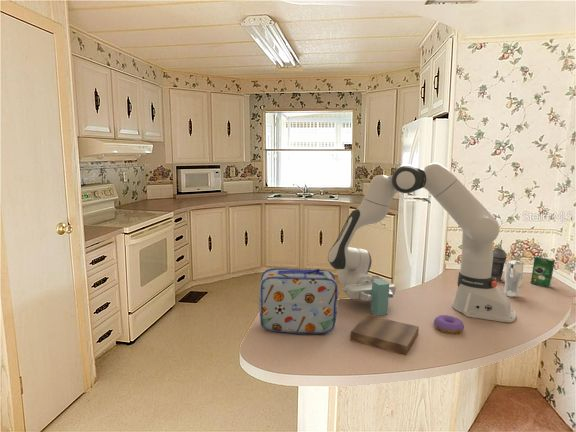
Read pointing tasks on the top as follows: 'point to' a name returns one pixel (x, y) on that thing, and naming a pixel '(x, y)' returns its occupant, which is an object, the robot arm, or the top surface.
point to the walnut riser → (385, 334)
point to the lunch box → (298, 300)
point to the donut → (449, 324)
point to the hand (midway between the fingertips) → (381, 297)
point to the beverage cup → (498, 263)
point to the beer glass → (512, 277)
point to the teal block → (379, 297)
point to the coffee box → (542, 271)
